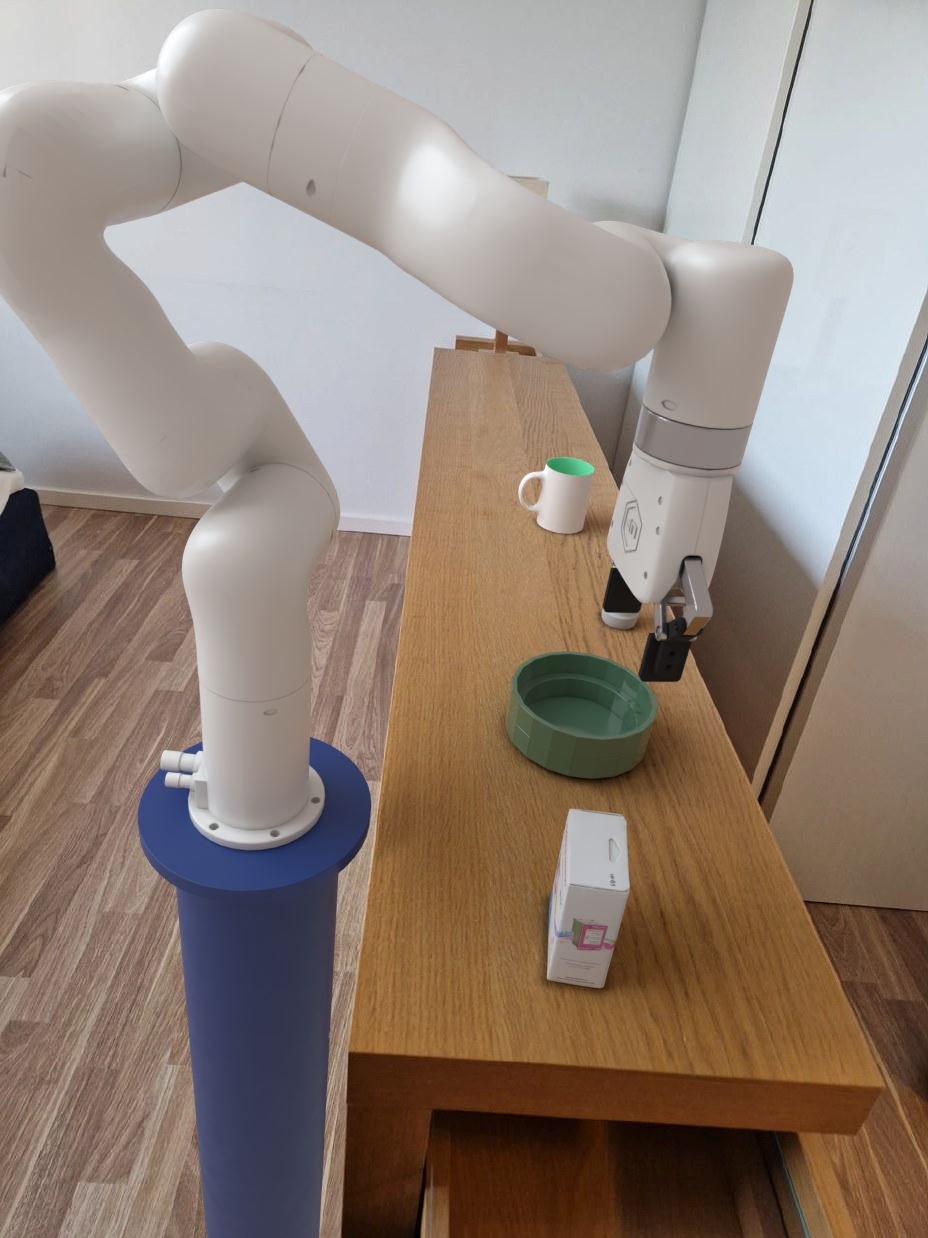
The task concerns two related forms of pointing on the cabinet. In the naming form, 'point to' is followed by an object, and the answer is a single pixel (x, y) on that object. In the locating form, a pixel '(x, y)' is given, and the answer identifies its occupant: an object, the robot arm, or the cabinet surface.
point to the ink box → (588, 897)
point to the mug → (561, 494)
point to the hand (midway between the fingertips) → (638, 643)
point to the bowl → (580, 714)
